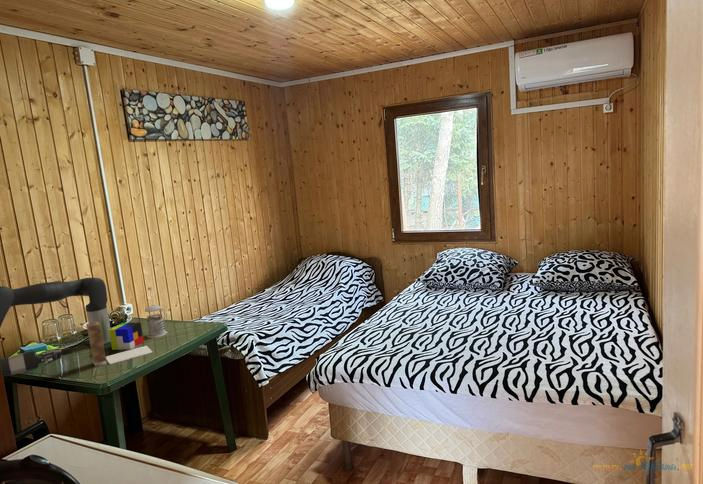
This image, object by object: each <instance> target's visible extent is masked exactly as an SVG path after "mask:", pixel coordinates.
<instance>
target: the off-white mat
mask: <svg viewBox="0 0 703 484" xmlns="http://www.w3.org/2000/svg"><path fill="white" fill-rule="evenodd" d="M150 354H153V351H152V349H151V348H149V346H148V345H144V346H141V347H137V348H136V347H135V348H132V349H127V350H126V351H122V352H118V353H115V354H111V355H107V356H106V355H105V356H106V362H107V363H108V365H110V366H111V365H114V364H118V363H122V362H126V361H128V360H132V359H135V358H139V357H142V356H143V357H144V356H147V355H150Z"/></svg>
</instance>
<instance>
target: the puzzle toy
mask: <svg viewBox="0 0 703 484" xmlns="http://www.w3.org/2000/svg"><path fill="white" fill-rule="evenodd" d="M110 328H111V327H110ZM109 334H110V340H111V342H110V345H111V350H112V351H113V350H114V351H117V350H118V351H119V350H122V351H123V350H126V351H128V350H132V349H135V348H136V347H137V346H139V345H141V344H142V343H144V342H145V341H144V336H143V335H144V334H143V328H142V323H141V322H122V323H120V324H118V325H116V326H114V327H112V328H111V329H109Z"/></svg>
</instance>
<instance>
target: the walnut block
mask: <svg viewBox="0 0 703 484" xmlns="http://www.w3.org/2000/svg"><path fill="white" fill-rule="evenodd" d="M86 328H87V329H86V330H87V334H88V335H87V337H88V340H89V346H90V352H91V356H92V357H91V358H92V362H93V365H94V366H95V368H96V367H98V366H99V367H100V366H103V365H107V363H108V361H107V360H106V352H105V346H104V345H105V344H103V339H102V334H101V328H100V324H99V322H93V323H89V324H88V323H86Z"/></svg>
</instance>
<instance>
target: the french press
mask: <svg viewBox="0 0 703 484" xmlns="http://www.w3.org/2000/svg"><path fill="white" fill-rule="evenodd" d="M147 289H148V290H149V292H150V294H152V291H151V290H153V287H151V286H150V287H147ZM152 298H153V297H152V295H150V299H151V300H153V299H152ZM156 311H158V312H160V313H158V314H157V313H156V314H155V313H154V312H156ZM144 312H146V313H152V312H153V314H151V315H149V316H147V317H146V324H147V325H146V326H147V330H148V334H147V336H146V337H147V338H149V339H153V338H160V337H163V336H165V335H167V334H168V331H166V329H165V322H166V321H167V319H168V314H167V311H166V309H163V307H162V306H161V305H154V304H153V302H151V305H149V306H148V307H146V308H145V309H144ZM161 312H163V316H162V314H161ZM166 333H167V334H166Z"/></svg>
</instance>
